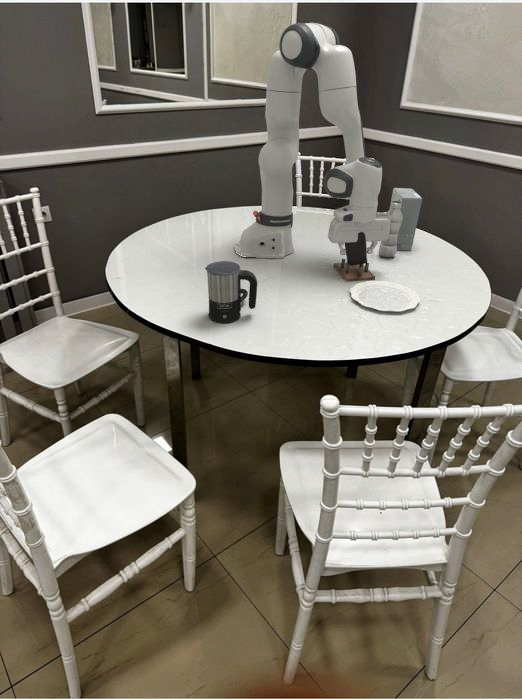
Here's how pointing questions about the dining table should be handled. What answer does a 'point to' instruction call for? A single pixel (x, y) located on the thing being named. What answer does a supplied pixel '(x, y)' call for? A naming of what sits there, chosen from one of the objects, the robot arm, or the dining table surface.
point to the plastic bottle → (392, 231)
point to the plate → (388, 285)
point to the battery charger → (357, 251)
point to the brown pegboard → (354, 271)
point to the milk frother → (228, 291)
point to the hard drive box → (407, 216)
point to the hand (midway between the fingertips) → (356, 253)
